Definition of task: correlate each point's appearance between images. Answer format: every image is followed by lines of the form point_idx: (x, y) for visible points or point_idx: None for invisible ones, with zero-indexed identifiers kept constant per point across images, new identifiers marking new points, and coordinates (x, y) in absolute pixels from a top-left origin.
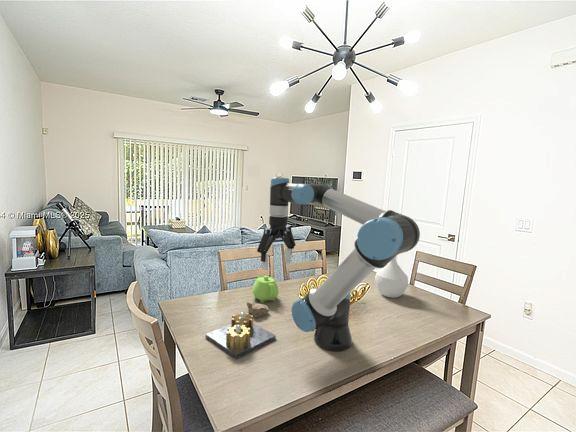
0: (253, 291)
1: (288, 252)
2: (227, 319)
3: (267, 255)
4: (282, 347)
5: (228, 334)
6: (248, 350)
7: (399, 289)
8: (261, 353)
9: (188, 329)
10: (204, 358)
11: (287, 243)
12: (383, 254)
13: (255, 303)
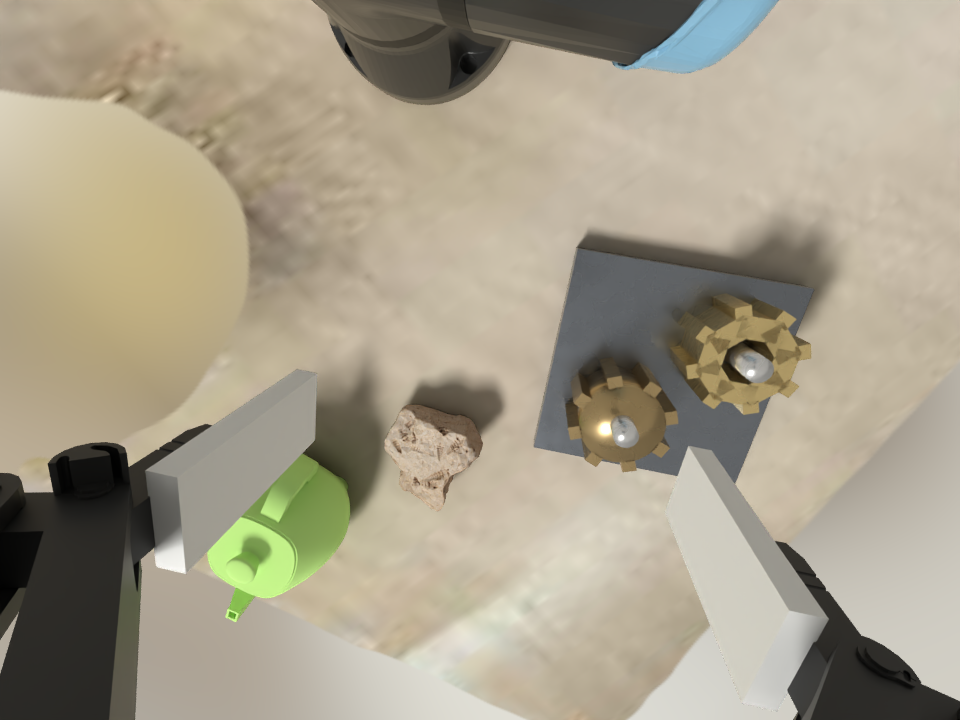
0: (334, 552)
1: (227, 468)
2: (560, 501)
3: (790, 590)
4: (620, 178)
5: (790, 380)
6: (742, 276)
7: None
8: (713, 226)
9: None
10: (859, 386)
11: (125, 607)
12: None
13: (418, 479)
